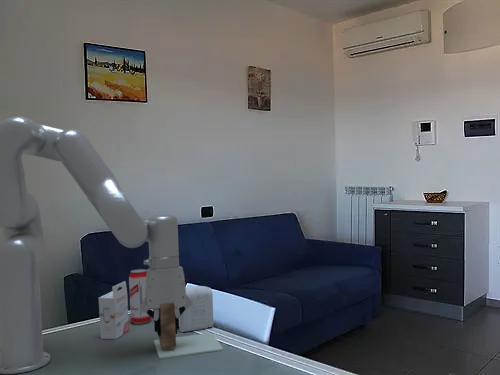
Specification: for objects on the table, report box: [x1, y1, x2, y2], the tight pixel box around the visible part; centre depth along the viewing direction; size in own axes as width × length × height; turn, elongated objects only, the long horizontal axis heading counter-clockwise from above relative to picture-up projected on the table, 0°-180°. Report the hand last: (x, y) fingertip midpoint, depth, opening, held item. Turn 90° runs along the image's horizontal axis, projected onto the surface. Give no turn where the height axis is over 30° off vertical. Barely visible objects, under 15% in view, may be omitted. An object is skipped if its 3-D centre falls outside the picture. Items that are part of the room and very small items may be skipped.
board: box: [153, 332, 224, 360], centre depth 130 cm, size 16×14×1 cm
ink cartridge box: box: [98, 280, 130, 340], centre depth 142 cm, size 9×5×15 cm, turn 168°
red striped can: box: [128, 268, 152, 325], centre depth 154 cm, size 6×6×16 cm
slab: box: [158, 303, 177, 349], centre depth 128 cm, size 4×7×11 cm, turn 16°
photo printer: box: [178, 285, 214, 333], centre depth 145 cm, size 10×4×12 cm, turn 116°
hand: (167, 332), depth 128 cm, fingers closed on slab, 3 cm apart
